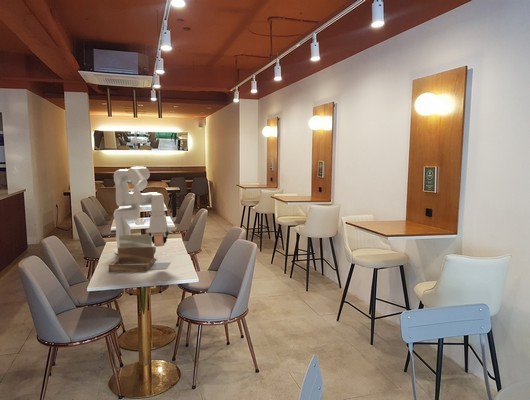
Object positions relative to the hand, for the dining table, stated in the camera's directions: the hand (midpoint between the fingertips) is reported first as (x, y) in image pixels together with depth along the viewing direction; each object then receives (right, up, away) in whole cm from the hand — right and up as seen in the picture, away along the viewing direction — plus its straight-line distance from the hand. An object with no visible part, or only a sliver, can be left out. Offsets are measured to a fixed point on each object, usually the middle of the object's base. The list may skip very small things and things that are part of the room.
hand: (159, 242), depth 241 cm
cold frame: (-17, -15, +1) cm, 23 cm away
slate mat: (0, -15, +2) cm, 15 cm away
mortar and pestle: (-13, -13, +21) cm, 28 cm away
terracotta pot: (0, -2, 0) cm, 2 cm away
